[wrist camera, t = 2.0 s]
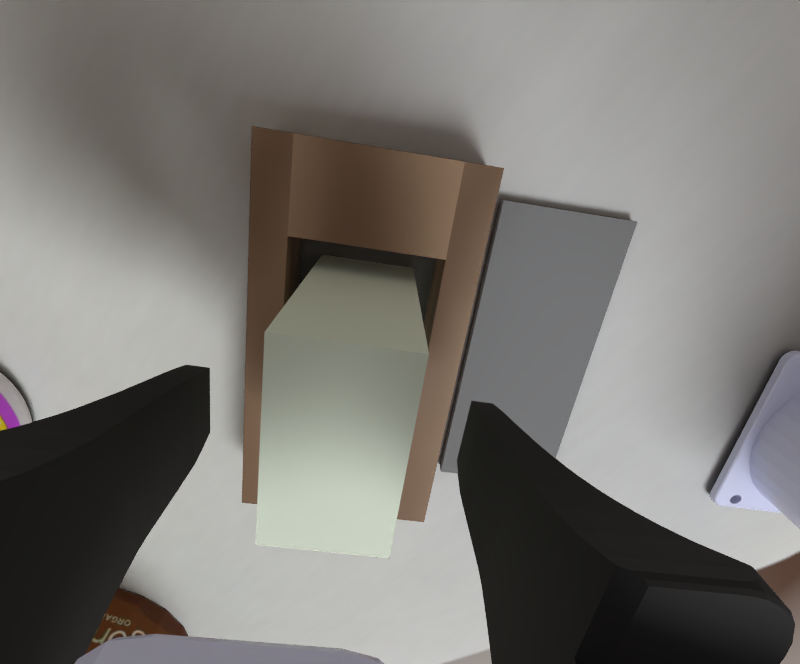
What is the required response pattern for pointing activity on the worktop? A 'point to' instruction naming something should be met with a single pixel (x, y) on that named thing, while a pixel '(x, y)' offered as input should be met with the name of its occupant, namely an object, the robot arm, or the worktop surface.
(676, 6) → the worktop surface
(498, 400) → the mat
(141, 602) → the food container
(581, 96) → the worktop surface
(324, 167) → the pocket block
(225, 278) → the worktop surface
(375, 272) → the sage block
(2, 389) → the supplement bottle
